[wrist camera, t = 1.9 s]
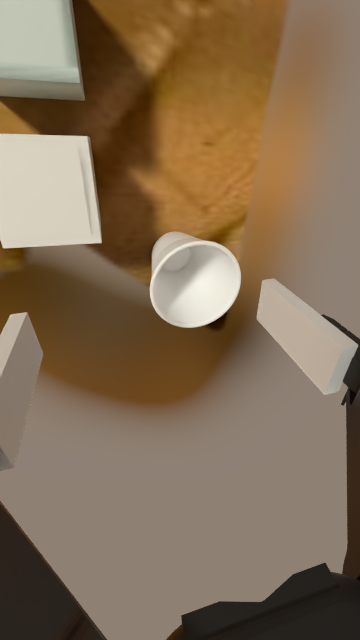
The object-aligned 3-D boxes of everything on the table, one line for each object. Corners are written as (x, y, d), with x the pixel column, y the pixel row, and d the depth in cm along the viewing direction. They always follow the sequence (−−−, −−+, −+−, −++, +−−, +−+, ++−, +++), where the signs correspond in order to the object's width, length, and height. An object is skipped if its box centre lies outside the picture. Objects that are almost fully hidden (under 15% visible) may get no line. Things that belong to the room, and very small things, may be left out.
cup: (138, 212, 34) (153, 238, 25) (213, 218, 36) (251, 243, 27) (135, 286, 39) (147, 330, 30) (201, 286, 41) (230, 326, 33)
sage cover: (69, -23, 23) (53, -115, 14) (85, 100, 27) (80, 83, 19) (-43, -40, 21) (-131, -154, 13) (-6, 95, 25) (-55, 74, 17)
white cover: (90, 137, 29) (87, 136, 20) (100, 217, 33) (101, 242, 25) (4, 135, 27) (-36, 132, 19) (27, 220, 31) (3, 248, 23)
